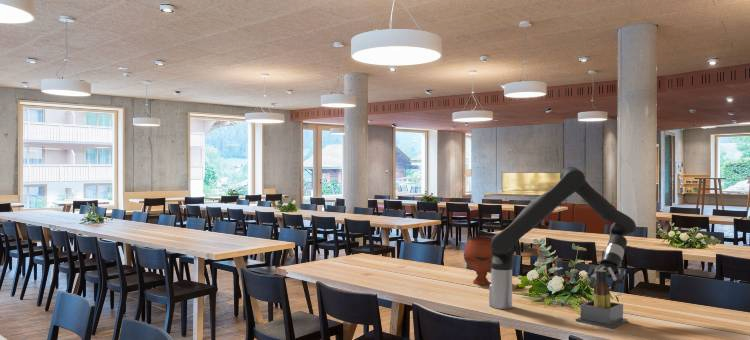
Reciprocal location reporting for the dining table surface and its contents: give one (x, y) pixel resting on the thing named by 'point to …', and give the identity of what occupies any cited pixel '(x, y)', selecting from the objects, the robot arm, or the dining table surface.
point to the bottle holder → (602, 315)
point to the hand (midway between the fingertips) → (601, 288)
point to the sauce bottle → (601, 290)
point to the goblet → (479, 257)
